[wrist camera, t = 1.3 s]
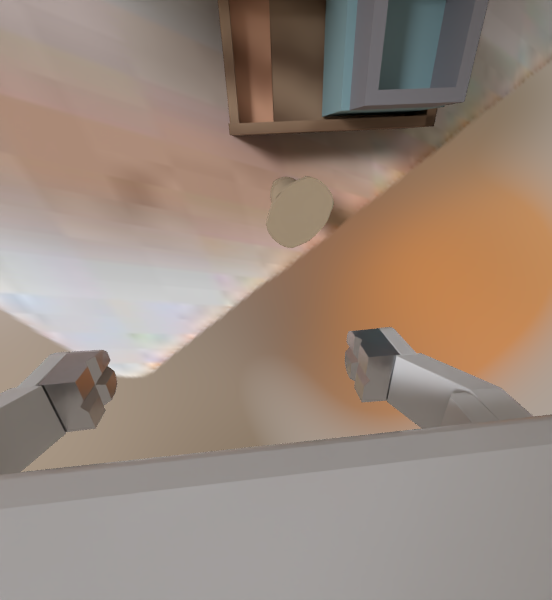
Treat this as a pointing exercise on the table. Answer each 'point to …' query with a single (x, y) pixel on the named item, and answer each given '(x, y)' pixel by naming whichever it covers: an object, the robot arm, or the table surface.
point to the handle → (298, 210)
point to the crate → (398, 54)
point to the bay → (285, 71)
